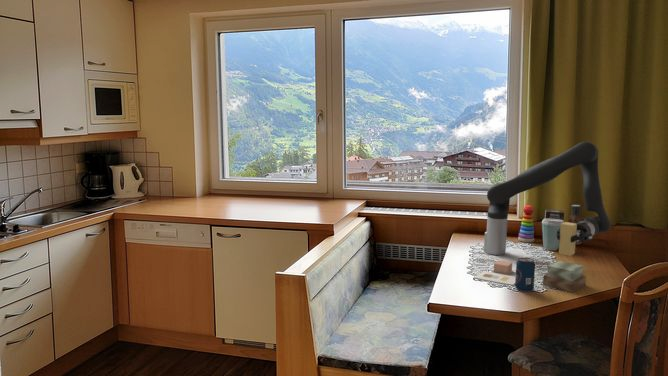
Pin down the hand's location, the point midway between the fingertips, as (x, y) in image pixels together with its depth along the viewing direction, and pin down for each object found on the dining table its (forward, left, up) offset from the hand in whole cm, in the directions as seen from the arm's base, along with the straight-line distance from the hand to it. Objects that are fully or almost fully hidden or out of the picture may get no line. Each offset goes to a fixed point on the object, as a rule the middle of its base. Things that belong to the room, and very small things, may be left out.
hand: (565, 238), depth 224 cm
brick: (-26, +2, -20) cm, 33 cm away
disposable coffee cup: (-27, +53, -20) cm, 62 cm away
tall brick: (0, +3, -7) cm, 7 cm away
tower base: (0, +3, -19) cm, 20 cm away
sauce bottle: (-23, +71, -20) cm, 77 cm away
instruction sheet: (-23, -8, -19) cm, 31 cm away
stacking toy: (-43, +59, -20) cm, 75 cm away
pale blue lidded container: (-33, +68, -20) cm, 78 cm away
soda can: (-9, -13, -20) cm, 26 cm away
